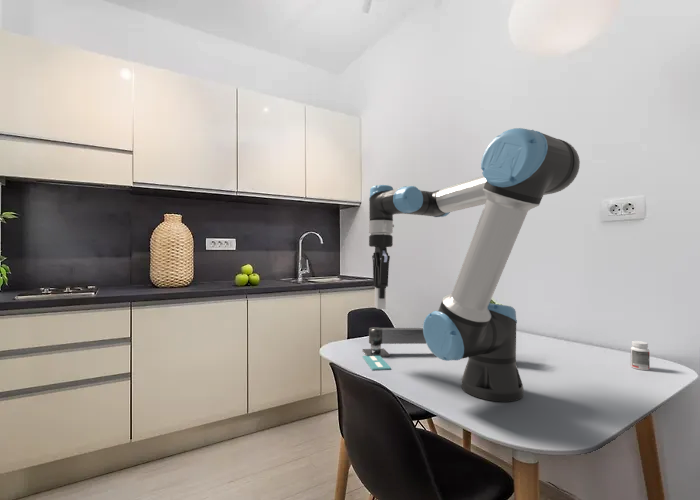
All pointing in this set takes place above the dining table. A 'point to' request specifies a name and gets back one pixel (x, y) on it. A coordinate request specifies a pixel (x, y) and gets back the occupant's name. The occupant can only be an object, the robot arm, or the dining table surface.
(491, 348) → the robot arm
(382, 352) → the grey square stand
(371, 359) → the label
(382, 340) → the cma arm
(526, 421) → the dining table surface
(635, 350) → the pill bottle
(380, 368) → the label
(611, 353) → the dining table surface
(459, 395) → the dining table surface
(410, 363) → the dining table surface
